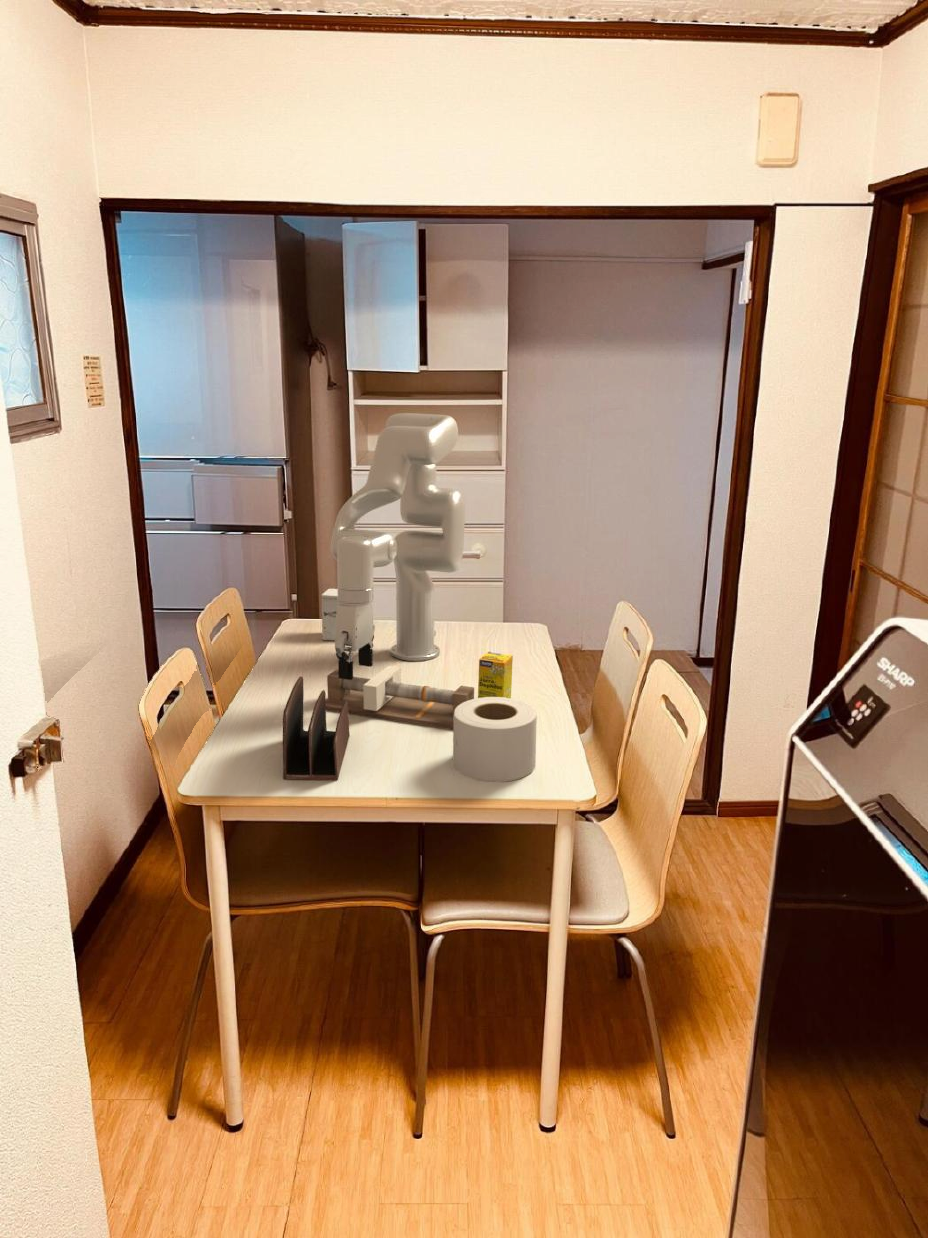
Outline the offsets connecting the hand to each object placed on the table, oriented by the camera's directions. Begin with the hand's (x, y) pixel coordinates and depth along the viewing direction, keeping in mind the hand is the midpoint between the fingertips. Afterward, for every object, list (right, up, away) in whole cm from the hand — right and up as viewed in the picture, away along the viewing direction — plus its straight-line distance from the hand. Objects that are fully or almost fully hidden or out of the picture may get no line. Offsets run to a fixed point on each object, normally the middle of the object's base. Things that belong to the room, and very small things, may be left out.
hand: (355, 672), depth 199 cm
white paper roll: (+29, -16, -25) cm, 42 cm away
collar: (+6, -6, 0) cm, 8 cm away
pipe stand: (+10, -8, 0) cm, 13 cm away
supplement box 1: (-10, +6, +48) cm, 49 cm away
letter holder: (-4, -15, -23) cm, 28 cm away
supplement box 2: (+30, -7, +4) cm, 31 cm away
